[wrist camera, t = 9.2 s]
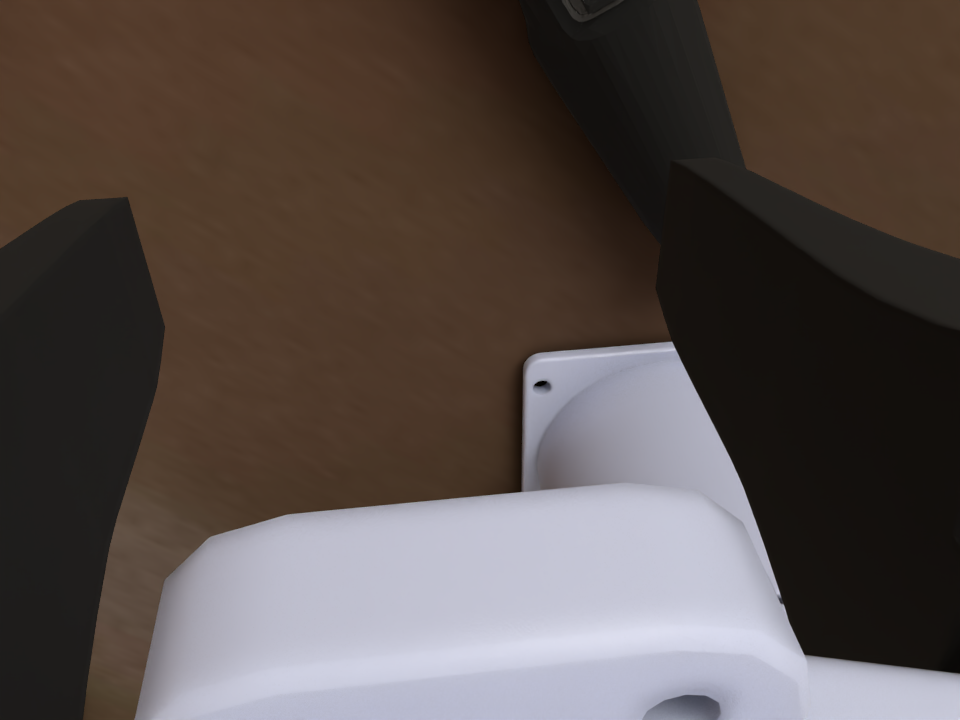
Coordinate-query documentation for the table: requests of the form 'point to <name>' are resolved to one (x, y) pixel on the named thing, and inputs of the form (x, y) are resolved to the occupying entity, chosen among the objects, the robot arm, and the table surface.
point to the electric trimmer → (636, 88)
